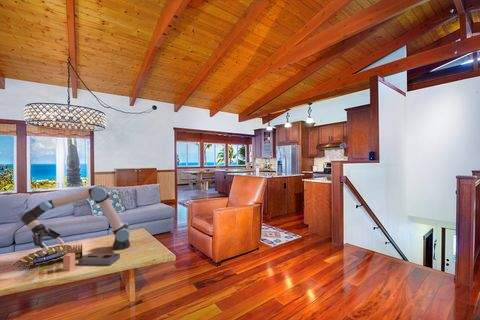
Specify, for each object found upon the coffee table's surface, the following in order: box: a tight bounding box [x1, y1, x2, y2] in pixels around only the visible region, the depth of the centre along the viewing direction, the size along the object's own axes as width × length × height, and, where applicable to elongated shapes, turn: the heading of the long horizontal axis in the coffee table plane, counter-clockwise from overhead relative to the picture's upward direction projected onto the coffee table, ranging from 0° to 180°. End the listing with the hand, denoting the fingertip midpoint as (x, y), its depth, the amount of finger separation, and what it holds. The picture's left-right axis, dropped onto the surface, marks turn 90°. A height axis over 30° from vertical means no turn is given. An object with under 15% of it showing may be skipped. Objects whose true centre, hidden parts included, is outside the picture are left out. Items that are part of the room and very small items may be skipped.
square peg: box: [62, 252, 76, 272], centre depth 168 cm, size 5×5×11 cm
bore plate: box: [77, 252, 121, 266], centre depth 180 cm, size 13×26×4 cm, turn 89°
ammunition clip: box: [66, 243, 83, 260], centre depth 185 cm, size 11×2×12 cm, turn 128°
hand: (55, 247), depth 168 cm, fingers open, 13 cm apart
